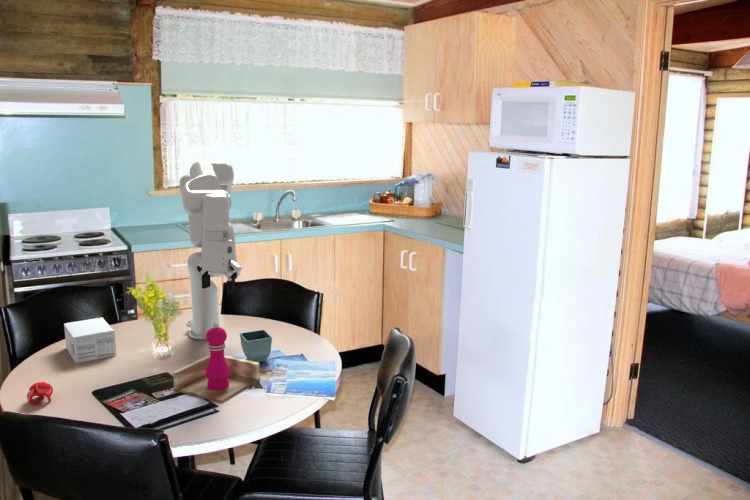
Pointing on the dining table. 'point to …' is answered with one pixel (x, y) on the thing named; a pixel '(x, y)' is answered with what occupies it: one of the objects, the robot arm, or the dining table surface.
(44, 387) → the red curved piece
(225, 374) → the pepper mill
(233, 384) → the board
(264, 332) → the flower pot
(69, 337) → the supplement box
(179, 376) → the corner fence
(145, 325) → the dining table surface
